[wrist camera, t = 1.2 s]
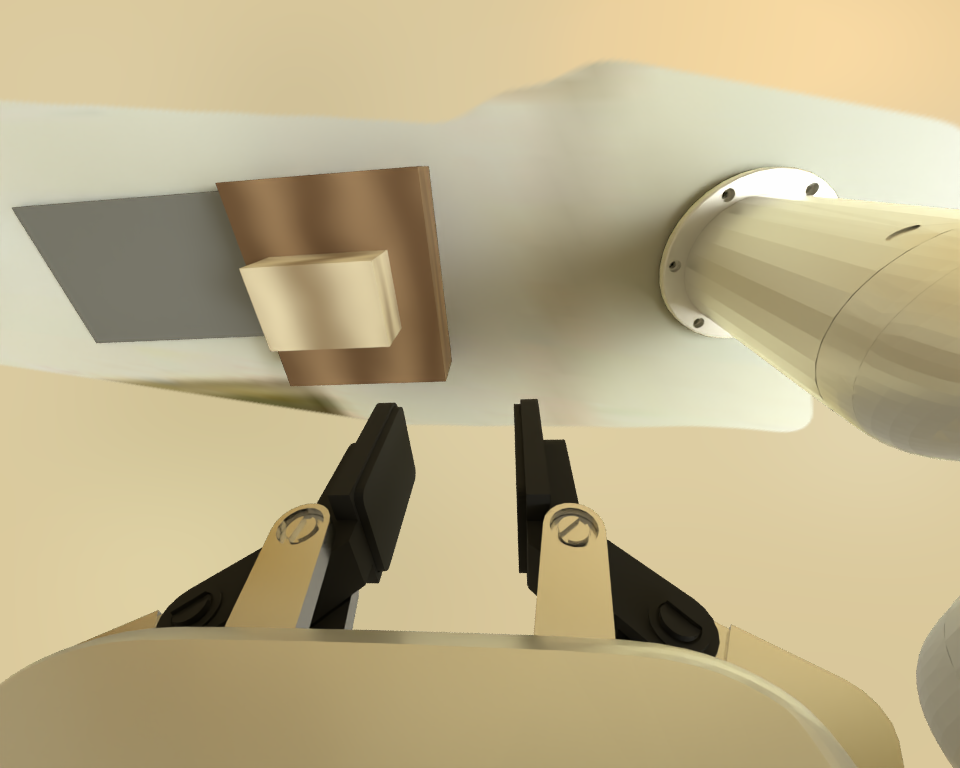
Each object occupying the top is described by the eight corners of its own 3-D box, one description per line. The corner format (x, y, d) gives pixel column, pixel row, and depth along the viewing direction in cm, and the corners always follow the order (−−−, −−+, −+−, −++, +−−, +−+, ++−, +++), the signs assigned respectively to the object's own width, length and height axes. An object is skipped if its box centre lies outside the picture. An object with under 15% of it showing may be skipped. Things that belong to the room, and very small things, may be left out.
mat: (246, 188, 29) (242, 189, 29) (294, 332, 35) (292, 334, 35) (18, 207, 31) (11, 207, 31) (101, 341, 37) (96, 343, 36)
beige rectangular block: (387, 249, 27) (371, 260, 24) (401, 328, 30) (389, 346, 27) (268, 257, 28) (239, 268, 25) (294, 332, 31) (270, 351, 28)
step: (428, 166, 28) (417, 166, 24) (451, 360, 36) (446, 381, 32) (250, 181, 29) (215, 182, 25) (310, 365, 37) (290, 386, 33)
